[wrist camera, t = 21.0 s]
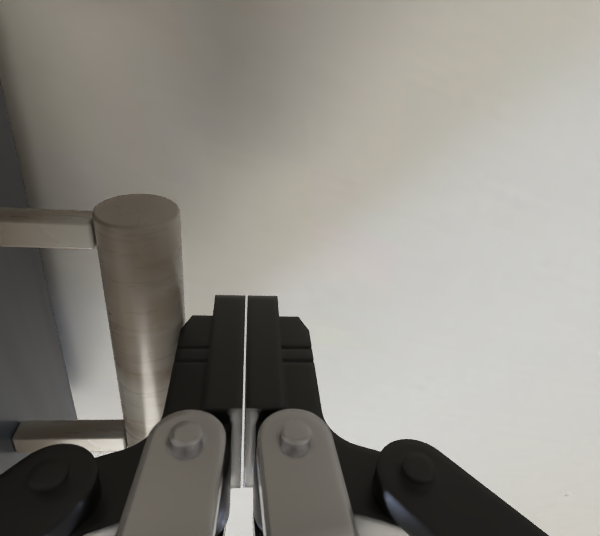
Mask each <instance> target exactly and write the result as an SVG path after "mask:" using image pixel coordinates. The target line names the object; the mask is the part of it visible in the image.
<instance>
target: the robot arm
mask: <svg viewBox="0 0 600 536" xmlns="http://www.w3.org/2000/svg"><path fill="white" fill-rule="evenodd" d="M244 327H245V296H239V295H216V296H215V303H214V311H213V316H197V315H192V317H191V318H190V319H189V320H188V321H187V322H186V324H185V325H184V326H183V327H182V328H181V330H180V335H179V340H178V344H177V349H176V354H175V359H174V363H173V368H172V373H171V378H170V383H169V387H168V392H167V397H166V402H165V406H164V411H163V415H162V418H161V420H160V421H159V422H158V423H157V424H156V425H155V426H154V427H153V428H152V429H151V431H150V432H149V435H148V436H147V437H146V438H145V439H144V440H142V441H141V442H139V443H137V444H135V445H133V446H131V447H129V448H126V449H123V450H120V451H117V452H114V453H110V454H107V455H103V456H100V457H97V458H94V457H93V455H92V454H91V453H90V452H89V451H88V450H87V449H85V448H84V447H82V446H79V445H75V444H64V443H63V444H55V445H51V446H47V447H44V448H41V449H39V450H37V451H35V452H33V453H31V454H29V455H28V456H26V457H25V458H23V459H22V460H20V461H19V462H18V463H16V464H15V465H13V466H12V467H11V468H9V469H8V470H6V471H5V472H4V473H2V474H1V475H0V536H225V531H226V523H227V520H228V517H229V509H230V488H240V479H241V442H242V405H243V366H244ZM244 487H253V536H549V535H547V534H546V533H545V532H543V531H542V530H541V529H540V528H538V527H537V526H536V525H534V524H533V523H532V522H530V521H529V520H528V519H527V518H525V517H524V516H523V515H521V514H520V513H519V512H518V511H516V510H515V509H514V508H512V507H511V506H510V505H508V504H507V503H506V502H505V501H503V500H502V499H501V498H499V497H498V496H497V495H496V494H494V493H493V492H492V491H490V490H489V489H488V488H486V487H485V486H484V485H483V484H481V483H480V482H479V481H477V480H476V479H475V478H473V477H472V476H471V475H470V474H468V473H467V472H466V471H464V470H463V469H462V468H461V467H459V466H458V465H457V464H455V463H454V462H453V461H451V460H450V459H449V458H448V457H446V456H445V455H444V454H442V453H441V452H440V451H438V450H437V449H435V448H434V447H432V446H430V445H429V444H427V443H424V442H421V441H417V440H412V439H401V440H397V441H394V442H391V443H390V444H388V445H387V446H385V447H384V449H383V450H382V451H381V452H379V451H376V450H372V449H369V448H365V447H361V446H358V445H355V444H352V443H350V442H348V441H345V440H344V439H342V438H341V437H339V436H338V435H337V434H335V433H334V432H333V431H332V430H331V429H330V428H329V426H328V425H327V423H326V422H325V420H324V417H323V414H322V410H321V403H320V397H319V391H318V385H317V378H316V372H315V366H314V363H313V353H312V349H311V341H310V335H309V330H308V329H307V327H306V326H305V325H304V324H303V322H302V321H301V320H300V318H299V317H279V311H278V298H277V296H248V307H247V339H246V381H245V433H244V485H243V488H244Z"/></svg>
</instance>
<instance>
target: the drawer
mask: <svg viewBox="0 0 600 536" xmlns="http://www.w3.org/2000/svg"><path fill="white" fill-rule="evenodd" d="M96 245H97V250H98V257H99V263H100V270H101V276H102V282H103V289H104V295H105V302H106V308H107V315H108V321H109V328H110V334H111V341H112V347H113V354H114V360H115V367H116V373H117V380H118V386H119V393H120V399H121V405H122V412H123V418H124V420H77V415H76V411H75V407H74V402H73V398H72V393H71V389H70V385H69V380H68V376H67V372H66V367H65V363H64V358H63V354H62V350H61V345H60V341H59V337H58V332H57V328H56V323H55V319H54V315H53V310H52V306H51V302H50V297H49V293H48V289H47V284H46V280H45V275H44V271H43V267H42V262H41V258H40V254H39V249H38V248H60V249H90V250H91V249H94V248H95V246H96ZM184 325H185V308H184V287H183V267H182V246H181V225H180V210H179V208H178V206H177V204H176V203H175V202H173V201H172V200H170V199H168V198H165V197H161V196H157V195H150V194H130V195H122V196H117V197H113V198H110V199H107V200H105V201H103V202H101V203H99V204H98V205H97V206H96V207H95V208H94V210H93V211H78V210H55V209H32V208H29V205H28V201H27V197H26V192H25V188H24V184H23V179H22V175H21V171H20V166H19V162H18V157H17V153H16V149H15V144H14V140H13V136H12V131H11V127H10V122H9V118H8V114H7V109H6V105H5V101H4V96H3V92H2V87H1V83H0V475H1V474H2V473H4V472H5V471H6V470H8V469H9V468H11V467H12V466H13V465H15V464H16V463H18V462H19V461H20V460H22V459H23V458H25V457H26V456H28V455H29V454H31V453H33V452H35V451H37V450H39V449H41V448H44V447H47V446H51V445H55V444H63V443H64V444H75V445H79V446H82V447H84V448H85V449H87V450H88V451H89V452H117V451H120V450H123V449H126V448H127V446H128V448H129V447H131V446H133V445H135V444H137V443H139V442H141V441H142V440H144V439H145V438H146V437H147V436H148V435H149V432H150V431H151V429H152V428H153V427H154V426H155V425H156V424H157V423H158V422H159V421H160V420H161V418H162V415H163V411H164V406H165V402H166V397H167V392H168V387H169V383H170V378H171V373H172V368H173V363H174V359H175V354H176V349H177V344H178V340H179V335H180V330H181V328H182V327H183V326H184Z"/></svg>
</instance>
